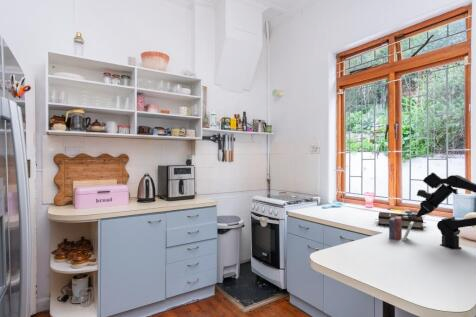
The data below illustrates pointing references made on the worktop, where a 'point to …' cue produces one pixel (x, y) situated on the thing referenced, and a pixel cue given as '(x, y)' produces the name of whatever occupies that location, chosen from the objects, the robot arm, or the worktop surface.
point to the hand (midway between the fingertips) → (418, 215)
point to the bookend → (408, 231)
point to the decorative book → (406, 220)
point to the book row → (395, 228)
